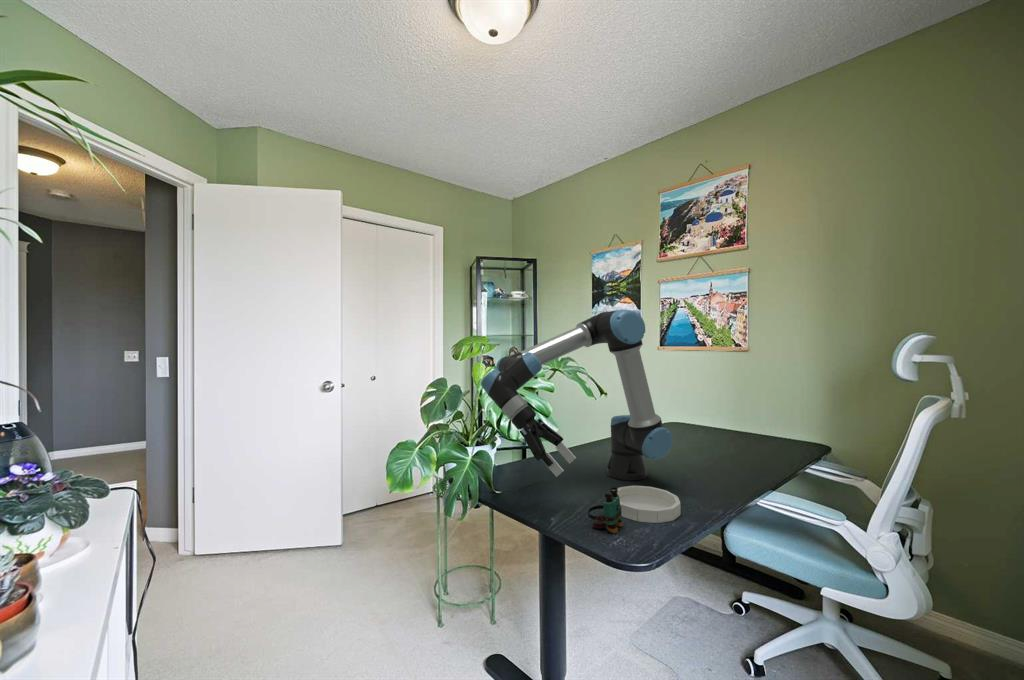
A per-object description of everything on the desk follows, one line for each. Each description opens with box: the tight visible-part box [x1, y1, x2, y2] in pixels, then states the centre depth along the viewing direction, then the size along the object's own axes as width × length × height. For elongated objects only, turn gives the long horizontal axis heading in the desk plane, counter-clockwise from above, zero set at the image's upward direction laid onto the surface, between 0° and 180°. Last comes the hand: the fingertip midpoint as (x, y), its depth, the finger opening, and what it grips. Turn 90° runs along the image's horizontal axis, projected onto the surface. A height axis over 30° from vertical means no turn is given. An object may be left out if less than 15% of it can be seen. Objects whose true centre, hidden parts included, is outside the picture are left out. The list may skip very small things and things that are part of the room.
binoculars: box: [587, 486, 623, 534], centre depth 119 cm, size 9×11×10 cm
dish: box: [617, 485, 682, 524], centre depth 131 cm, size 20×20×4 cm
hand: (566, 467), depth 124 cm, fingers open, 13 cm apart
